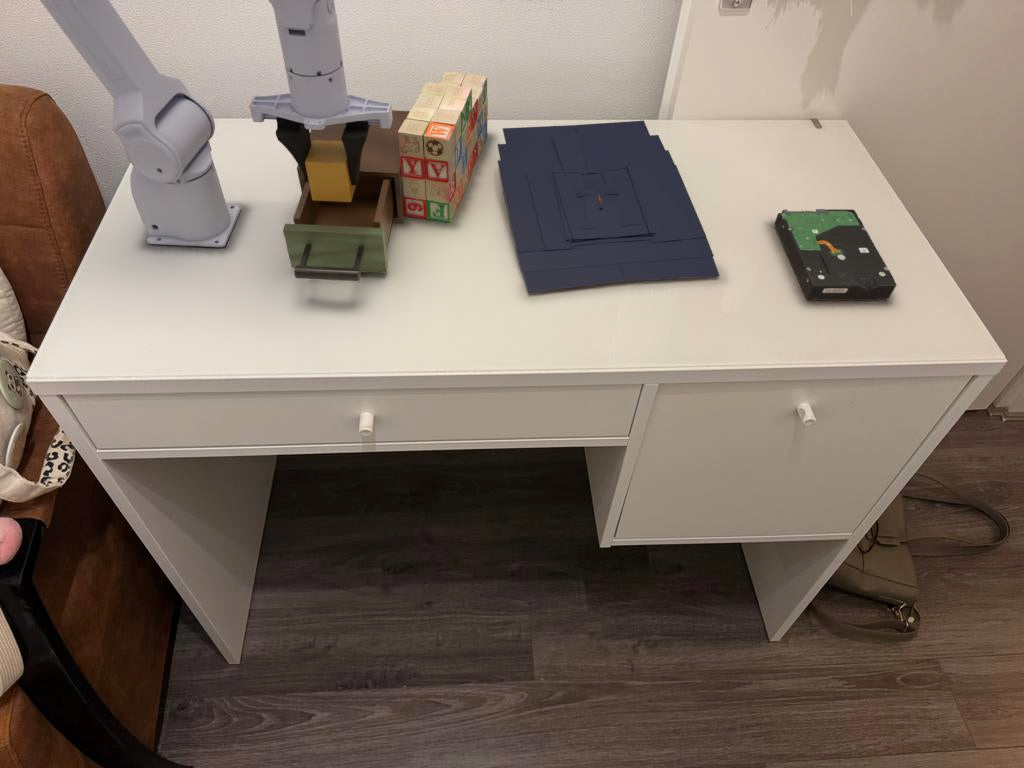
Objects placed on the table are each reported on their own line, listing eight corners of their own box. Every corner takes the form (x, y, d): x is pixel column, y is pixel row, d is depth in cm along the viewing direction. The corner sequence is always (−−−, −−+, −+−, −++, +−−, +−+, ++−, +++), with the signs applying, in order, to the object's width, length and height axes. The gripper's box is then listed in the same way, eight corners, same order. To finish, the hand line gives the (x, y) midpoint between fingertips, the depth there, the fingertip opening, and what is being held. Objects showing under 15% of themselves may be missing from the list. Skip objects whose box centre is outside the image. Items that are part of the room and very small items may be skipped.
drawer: (380, 303, 85) (375, 265, 81) (281, 299, 85) (271, 260, 81) (400, 204, 97) (397, 166, 93) (314, 200, 97) (307, 162, 93)
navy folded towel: (652, 135, 110) (657, 114, 107) (715, 290, 93) (724, 270, 90) (488, 145, 106) (489, 123, 103) (524, 307, 90) (526, 287, 87)
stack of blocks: (446, 130, 111) (444, 48, 101) (488, 136, 110) (489, 54, 101) (404, 216, 97) (396, 130, 88) (451, 224, 96) (448, 138, 87)
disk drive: (889, 302, 90) (846, 224, 100) (899, 285, 88) (855, 207, 97) (806, 303, 89) (771, 224, 99) (814, 286, 87) (777, 207, 97)
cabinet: (403, 222, 96) (399, 172, 91) (306, 218, 96) (296, 168, 90) (415, 159, 106) (412, 111, 100) (327, 155, 105) (319, 106, 100)
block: (312, 200, 85) (304, 162, 81) (320, 178, 88) (313, 139, 84) (351, 202, 85) (345, 163, 81) (357, 180, 88) (352, 141, 84)
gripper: (230, 78, 72) (260, 197, 83) (380, 86, 72) (392, 203, 83) (249, 45, 77) (275, 161, 87) (390, 52, 77) (400, 167, 87)
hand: (333, 179), depth 85 cm, fingers closed on block, 4 cm apart
